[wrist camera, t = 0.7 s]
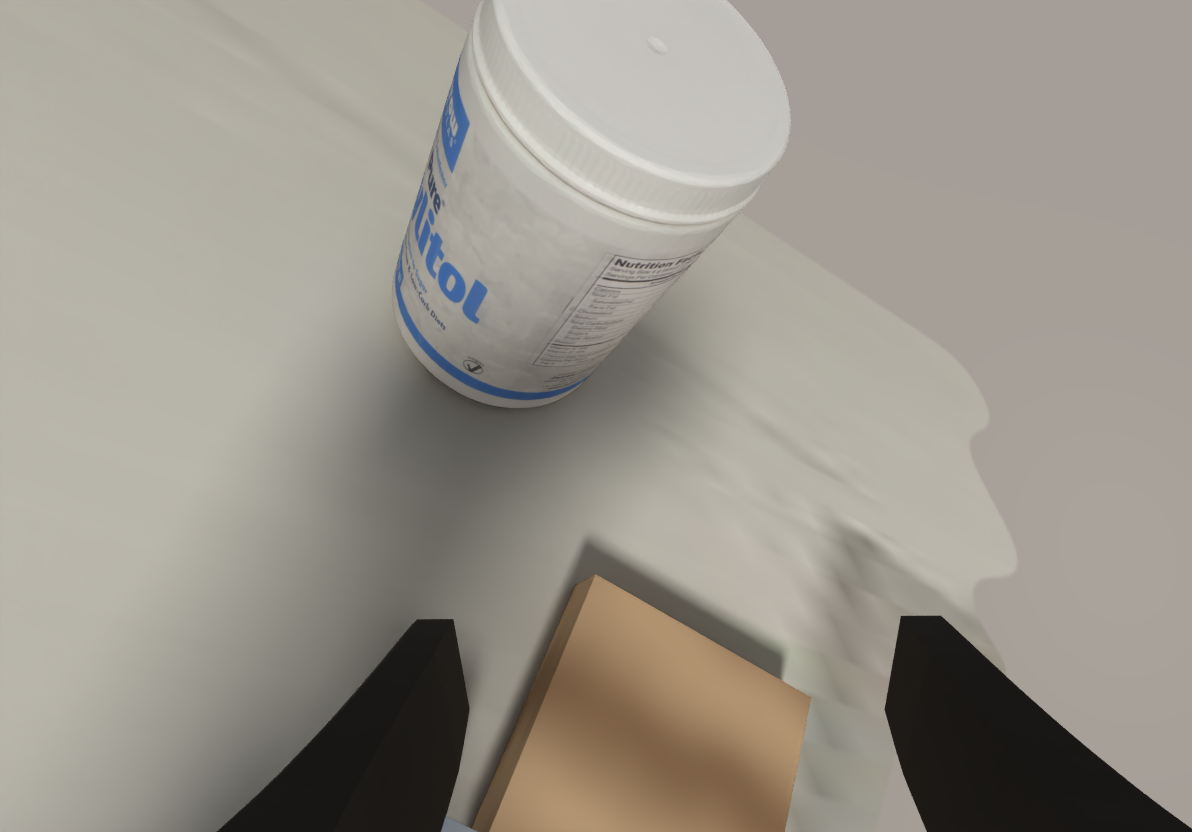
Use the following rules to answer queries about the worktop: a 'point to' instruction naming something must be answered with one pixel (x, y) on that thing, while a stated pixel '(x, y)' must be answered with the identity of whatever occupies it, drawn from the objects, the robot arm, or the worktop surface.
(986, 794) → the robot arm
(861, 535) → the worktop surface
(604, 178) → the supplement tub
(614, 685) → the slab
